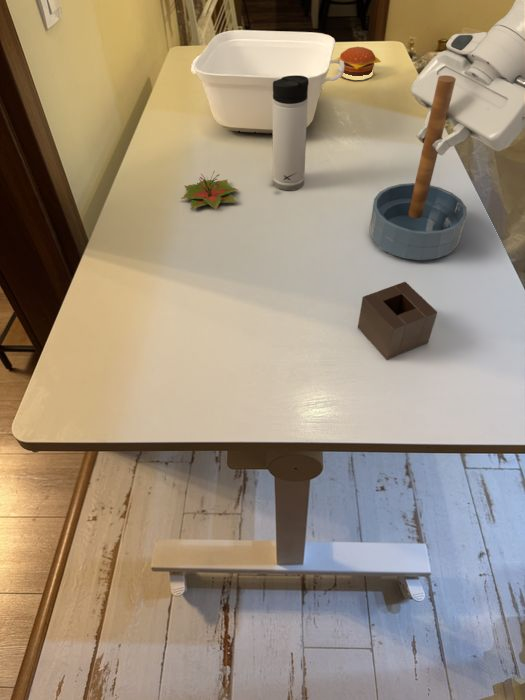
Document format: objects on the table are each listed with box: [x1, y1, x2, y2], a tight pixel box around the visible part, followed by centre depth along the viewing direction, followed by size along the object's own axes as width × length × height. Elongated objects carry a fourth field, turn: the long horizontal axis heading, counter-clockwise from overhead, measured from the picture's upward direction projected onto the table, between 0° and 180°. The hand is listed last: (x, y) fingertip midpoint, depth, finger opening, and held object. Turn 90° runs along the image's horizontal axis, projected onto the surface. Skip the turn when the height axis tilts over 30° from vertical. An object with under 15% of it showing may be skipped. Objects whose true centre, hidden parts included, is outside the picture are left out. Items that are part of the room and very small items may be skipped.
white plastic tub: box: [190, 29, 344, 135], centre depth 119 cm, size 34×29×15 cm
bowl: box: [368, 182, 468, 261], centre depth 89 cm, size 15×15×6 cm
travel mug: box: [272, 75, 309, 191], centre depth 97 cm, size 6×7×20 cm
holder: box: [357, 281, 438, 361], centre depth 73 cm, size 7×7×6 cm
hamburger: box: [334, 46, 382, 76], centre depth 139 cm, size 9×10×7 cm
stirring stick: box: [408, 75, 456, 218], centre depth 80 cm, size 2×2×22 cm
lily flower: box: [180, 170, 239, 211], centre depth 99 cm, size 12×12×5 cm
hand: (428, 146), depth 79 cm, fingers closed on stirring stick, 2 cm apart
